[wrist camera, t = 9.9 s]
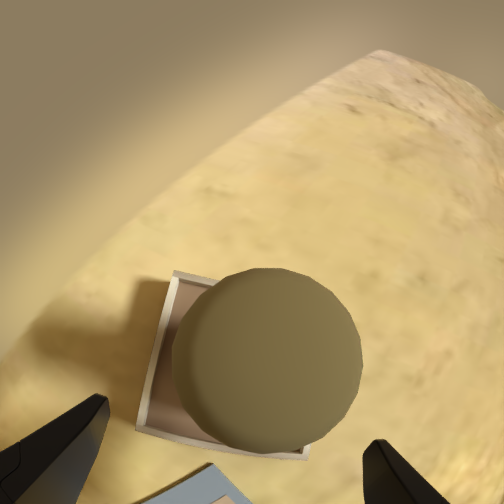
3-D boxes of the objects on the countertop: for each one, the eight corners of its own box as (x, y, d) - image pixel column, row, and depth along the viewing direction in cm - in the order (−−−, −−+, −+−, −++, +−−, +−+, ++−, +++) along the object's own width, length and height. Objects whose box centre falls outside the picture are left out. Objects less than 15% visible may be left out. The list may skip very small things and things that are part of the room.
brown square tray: (296, 453, 16) (309, 462, 14) (142, 425, 16) (132, 431, 13) (318, 312, 20) (332, 302, 18) (176, 282, 20) (172, 268, 18)
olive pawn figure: (166, 395, 15) (98, 411, 5) (212, 305, 18) (220, 196, 8) (263, 438, 15) (345, 507, 5) (304, 347, 17) (418, 292, 7)
